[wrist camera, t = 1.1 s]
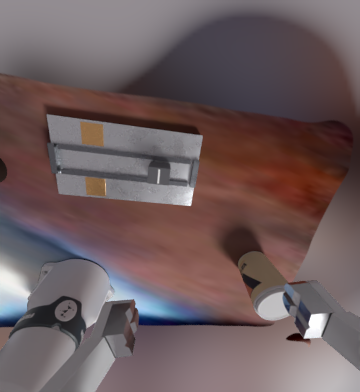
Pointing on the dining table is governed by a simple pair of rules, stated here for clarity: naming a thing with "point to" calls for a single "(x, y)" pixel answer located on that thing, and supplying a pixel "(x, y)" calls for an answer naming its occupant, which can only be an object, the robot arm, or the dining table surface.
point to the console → (121, 160)
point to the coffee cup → (263, 285)
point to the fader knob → (158, 173)
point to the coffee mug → (2, 171)
